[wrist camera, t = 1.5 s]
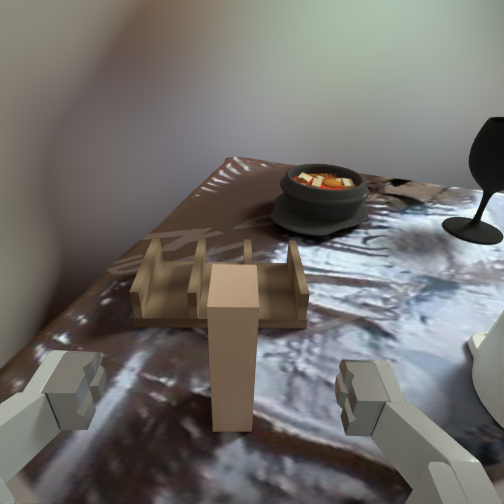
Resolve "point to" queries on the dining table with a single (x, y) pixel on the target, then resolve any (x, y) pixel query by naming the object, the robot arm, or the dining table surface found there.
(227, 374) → the beige rectangular block
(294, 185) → the casserole
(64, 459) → the dining table surface
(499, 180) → the wine glass
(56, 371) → the robot arm
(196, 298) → the drying rack
